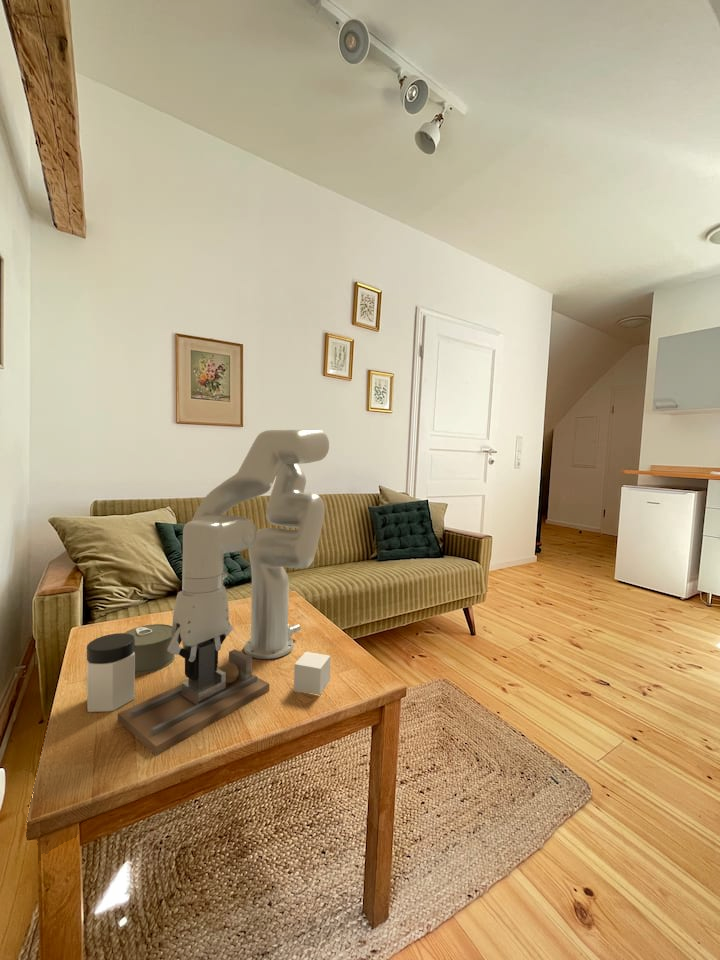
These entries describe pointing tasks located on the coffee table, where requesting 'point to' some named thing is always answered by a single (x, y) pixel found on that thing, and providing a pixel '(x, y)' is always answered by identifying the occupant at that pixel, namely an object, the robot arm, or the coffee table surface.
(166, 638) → the can
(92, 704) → the jar
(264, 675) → the coffee table surface
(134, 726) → the board
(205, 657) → the handle
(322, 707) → the coffee table surface
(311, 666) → the white cube
